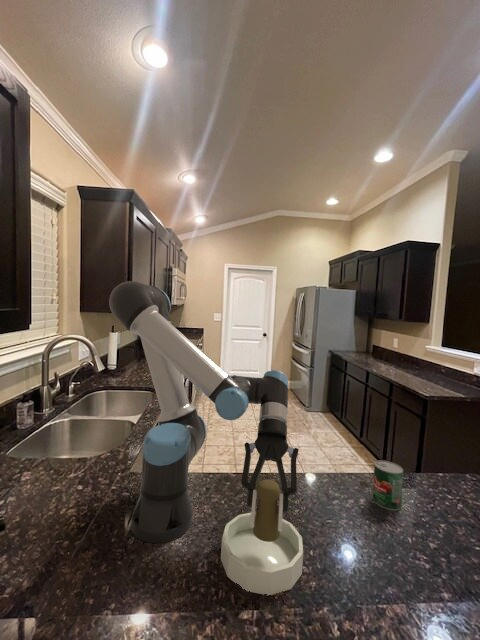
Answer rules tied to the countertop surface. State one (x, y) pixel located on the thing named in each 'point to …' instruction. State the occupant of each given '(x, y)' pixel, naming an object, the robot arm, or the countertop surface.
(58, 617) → the countertop surface
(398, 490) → the canned tomato
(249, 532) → the bowl
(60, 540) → the countertop surface
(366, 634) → the countertop surface
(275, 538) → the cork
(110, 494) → the countertop surface
